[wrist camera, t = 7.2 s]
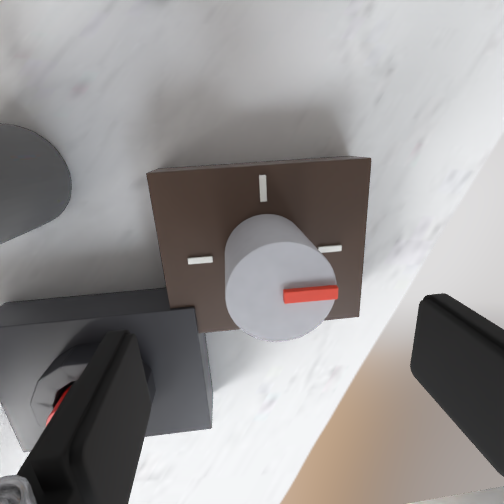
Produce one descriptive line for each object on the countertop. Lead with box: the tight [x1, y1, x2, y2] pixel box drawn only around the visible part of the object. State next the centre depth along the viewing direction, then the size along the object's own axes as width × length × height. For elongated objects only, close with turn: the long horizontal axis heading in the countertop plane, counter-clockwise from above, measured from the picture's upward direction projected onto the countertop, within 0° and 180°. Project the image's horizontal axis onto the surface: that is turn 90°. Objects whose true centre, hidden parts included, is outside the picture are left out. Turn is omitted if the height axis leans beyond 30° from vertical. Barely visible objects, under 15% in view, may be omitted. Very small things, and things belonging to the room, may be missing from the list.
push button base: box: [0, 288, 213, 452], centre depth 20 cm, size 13×10×5 cm
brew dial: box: [225, 214, 338, 342], centre depth 15 cm, size 5×5×5 cm
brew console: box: [146, 156, 371, 333], centre depth 19 cm, size 12×10×3 cm
